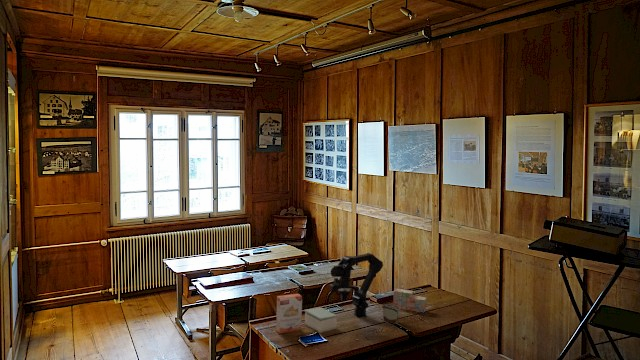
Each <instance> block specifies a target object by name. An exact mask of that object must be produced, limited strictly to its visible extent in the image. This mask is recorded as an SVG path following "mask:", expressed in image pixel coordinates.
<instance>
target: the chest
mask: <svg viewBox="0 0 640 360" xmlns="http://www.w3.org/2000/svg"><path fill="white" fill-rule="evenodd" d="M337 318H338V316H337V317H334V318H329V319H323V320H319V319H317V318H315V317H313V316H312V315H310V314H308V313H306V312H305V313H304V325H305V326H307V327H309V328H311V329H312V330H314V331H316V332H318V333H320V334H322V333H324V332H325V333H326V332H328V331H333V330H336V329H337V326H338V325H337V324H338V323H337V321H338V320H337Z"/></svg>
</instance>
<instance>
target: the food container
mask: <svg viewBox="0 0 640 360" xmlns="http://www.w3.org/2000/svg"><path fill="white" fill-rule="evenodd" d="M381 309H382V316H383V317H382V319H383V320H382V321H383V322H385V321H387V322H386V323H388V322H390V323H389V324H391V323H393V324H392V325H394V324H397V325H398V322H399V314H400V312H401V309H399V307H398V306H396V305H393V304H391V303H389V304H387V303H386V304H382V307H381Z"/></svg>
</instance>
